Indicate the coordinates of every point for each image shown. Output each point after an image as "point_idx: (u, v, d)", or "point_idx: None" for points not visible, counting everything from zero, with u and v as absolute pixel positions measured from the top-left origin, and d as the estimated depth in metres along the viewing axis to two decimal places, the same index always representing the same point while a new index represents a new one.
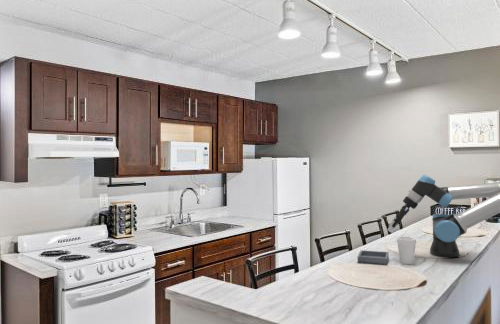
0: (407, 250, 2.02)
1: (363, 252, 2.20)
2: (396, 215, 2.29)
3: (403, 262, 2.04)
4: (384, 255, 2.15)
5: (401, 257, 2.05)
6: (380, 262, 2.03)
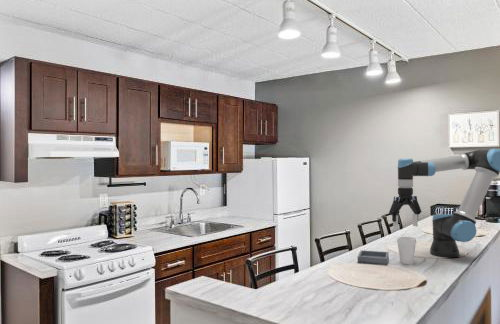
0: (407, 250, 2.02)
1: (363, 252, 2.20)
2: None
3: (403, 262, 2.04)
4: (384, 255, 2.15)
5: (401, 257, 2.05)
6: (380, 262, 2.03)
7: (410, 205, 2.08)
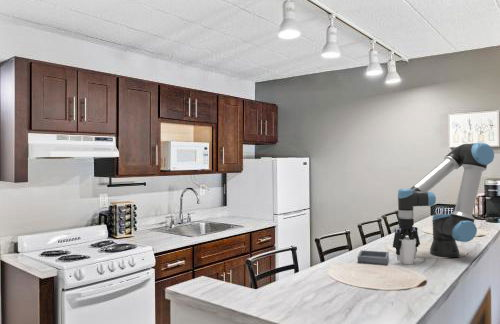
0: (407, 250, 2.02)
1: (363, 252, 2.20)
2: None
3: (403, 262, 2.04)
4: (384, 255, 2.15)
5: None
6: (380, 262, 2.03)
7: (410, 236, 2.07)
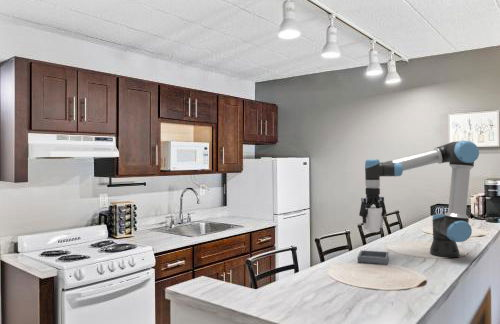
0: (373, 218, 2.07)
1: (363, 252, 2.20)
2: None
3: (369, 230, 2.09)
4: (384, 255, 2.15)
5: None
6: (380, 262, 2.03)
7: (376, 205, 2.12)
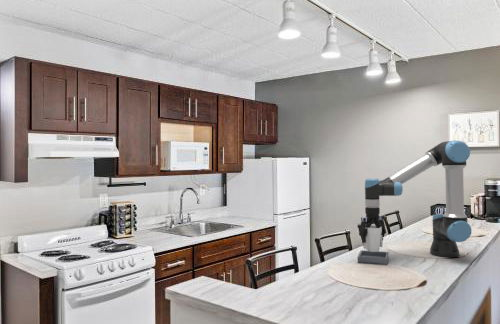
0: (373, 238, 2.08)
1: (363, 252, 2.20)
2: None
3: (369, 250, 2.10)
4: (384, 255, 2.15)
5: None
6: (380, 262, 2.03)
7: (376, 225, 2.12)
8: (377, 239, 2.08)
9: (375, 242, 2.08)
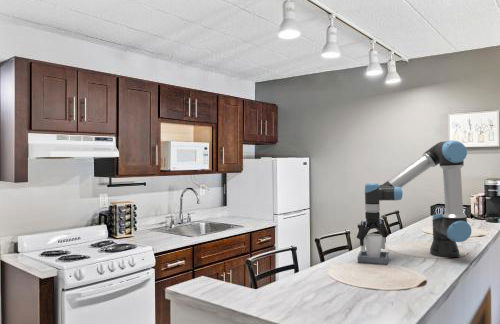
0: (373, 246, 2.08)
1: (363, 252, 2.20)
2: None
3: None
4: (384, 255, 2.15)
5: (368, 253, 2.10)
6: (380, 262, 2.03)
7: (377, 229, 2.13)
8: (377, 247, 2.08)
9: (375, 250, 2.08)
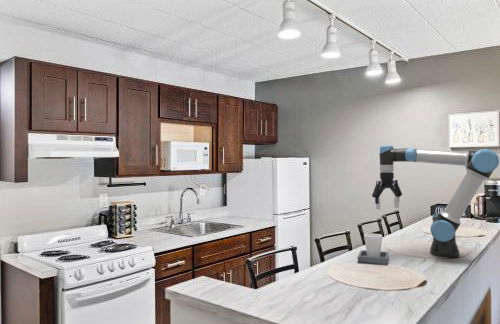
0: (373, 246, 2.08)
1: (363, 252, 2.20)
2: None
3: None
4: (384, 255, 2.15)
5: (368, 253, 2.10)
6: (380, 262, 2.03)
7: (391, 188, 2.26)
8: (377, 247, 2.08)
9: (375, 250, 2.08)
